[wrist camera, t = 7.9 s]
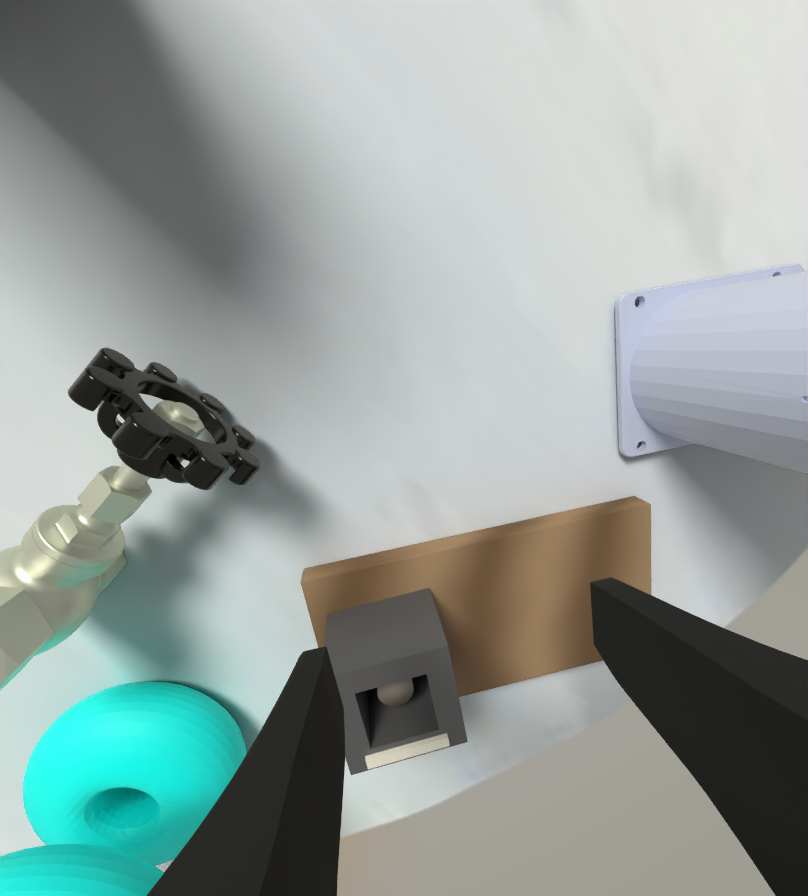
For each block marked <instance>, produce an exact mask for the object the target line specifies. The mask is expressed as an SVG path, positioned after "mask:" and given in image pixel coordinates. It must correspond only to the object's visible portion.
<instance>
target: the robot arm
mask: <svg viewBox="0 0 808 896" xmlns="http://www.w3.org/2000/svg"><path fill="white" fill-rule="evenodd" d="M772 275H773V277H772ZM636 298H638V299H639V305H638V307H636V306H635V299H636ZM615 325H616V362H617V398H618V434H619V451H620V453H621V454H622V455H624V456H627V457H635V456H640V455H644V454H649V453H654V452H658V451H663V450H668V449H673V448H677V447H682V446H687V445H692V444H699V445H703V446H707V447H710V448H714V449H718V450H721V451H725V452H729V453H732V454H736V455H739V456H743V457H747V458H750V459H754V460H758V461H761V462H765V463H769V464H772V465H776V466H779V467H783V468H787V469H790V470H794V471H798V472H801V473H805V474H808V271H804V270H803V267H802V266H801V265H800V264H796V263H795V264H789V265H783V266H778V267H772V268H766V269H760V270H755V271H749V272H743V273H738V274H732V275H726V276H720V277H715V278H709V279H703V280H698V281H692V282H686V283H680V284H675V285H669V286H663V287H658V288H652V289H646V290H640V291H635V292H629V293H624V294H622V295H620V296H619V297H618V298H617V300H616V303H615ZM639 442H641V446H640V447H639V448H638V449H637V444H638V443H639ZM590 591H591V607H592V623H593V640H594V646H595V647H596V649H597V650H598V652H599V654H600V655H601V657H602V659H603V660H604V662H605V663H606V665H607V667H608V668H609V670H610V671H611V673H612V674H613V676H614V677H615V679H616V680H617V682H618V683H619V684H620V686H621V687H622V688H623V689H624V691H625V692H626V693H627V694H628V696H629V697H630V698H631V699H632V701H633V702H634V703H635V705H636V706H637V707H638V708H639V709H640V711H641V712H642V713H643V714H644V716H645V717H646V718H647V719H648V721H649V722H650V723H651V724H652V726H653V727H654V728H655V729H656V730H657V732H658V733H659V734H660V735H661V737H662V738H663V739H664V740H665V742H666V743H667V744H668V745H669V747H670V748H671V749H672V750H673V752H674V753H675V754H676V755H677V756H678V758H679V759H680V760H681V761H682V763H683V764H684V765H685V766H686V768H687V769H688V770H689V771H690V773H691V774H692V775H693V776H694V778H695V779H696V781H697V782H698V783H699V785H700V786H701V787H702V788H703V790H704V791H705V792H706V794H707V795H708V797H709V798H710V799H711V801H712V802H713V804H714V805H715V806H716V808H717V810H718V811H719V812H720V814H721V815H722V817H723V818H724V820H725V821H726V822H727V824H728V825H729V827H730V828H731V830H732V831H733V833H734V834H735V836H736V837H737V838H738V840H739V841H740V843H741V844H742V846H743V847H744V849H745V850H746V852H747V853H748V855H749V856H750V858H751V859H752V861H753V862H754V864H755V865H756V867H757V868H758V870H759V871H760V873H761V874H762V876H763V877H764V879H765V880H766V882H767V883H768V885H769V886H770V888H771V889H772V891H773V892H774V894H775V895H776V896H808V660H805V659H802V658H799V657H797V656H794V655H791V654H788V653H785V652H782V651H779V650H777V649H774V648H772V647H769V646H766V645H763V644H761V643H758V642H756V641H753V640H751V639H749V638H746V637H744V636H741V635H739V634H736V633H734V632H731V631H729V630H727V629H724V628H722V627H720V626H717V625H715V624H713V623H710V622H708V621H706V620H703V619H701V618H699V617H697V616H695V615H692V614H690V613H688V612H686V611H684V610H681V609H679V608H677V607H675V606H673V605H671V604H668V603H666V602H664V601H662V600H660V599H658V598H656V597H654V596H652V595H649V594H647V593H645V592H643V591H641V590H639V589H637V588H634V587H632V586H630V585H628V584H626V583H624V582H621V581H619V580H617V579H614V578H612V577H610V578H606V579H602V580H598V581H593V582H590ZM344 767H345V727H344V707H343V704H342V700H341V696H340V693H339V689H338V686H337V682H336V679H335V675H334V671H333V668H332V664H331V661H330V657H329V653H328V650H327V646H325V647H321V648H317V649H313V650H308V651H304V652H303V653H302V654H301V655H300V657H299V659H298V661H297V663H296V665H295V667H294V669H293V671H292V673H291V675H290V677H289V679H288V681H287V683H286V685H285V687H284V689H283V691H282V693H281V694H280V696H279V698H278V700H277V702H276V704H275V706H274V707H273V709H272V711H271V713H270V715H269V717H268V718H267V720H266V722H265V724H264V726H263V727H262V729H261V731H260V733H259V734H258V736H257V738H256V740H255V741H254V743H253V744H252V746H251V748H250V749H249V751H248V753H247V754H246V756H245V758H244V759H243V761H242V763H241V764H240V766H239V767H238V769H237V771H236V772H235V774H234V776H233V777H232V779H231V780H230V782H229V783H228V785H227V786H226V788H225V789H224V791H223V792H222V794H221V795H220V797H219V798H218V800H217V801H216V803H215V804H214V806H213V807H212V809H211V810H210V812H209V813H208V814H207V816H206V817H205V819H204V820H203V822H202V823H201V824H200V826H199V827H198V829H197V830H196V831H195V833H194V834H193V836H192V837H191V838H190V840H189V841H188V842H187V844H186V845H185V846H184V848H183V849H182V850H181V852H180V853H179V854H178V856H177V857H176V858H175V860H174V861H173V862H172V863H171V865H170V866H169V867H168V869H167V870H166V871H165V872H164V874H163V875H162V876H161V878H160V879H159V880H158V881H157V883H156V884H155V885H154V887H153V888H152V889H151V890H150V892H149V893H148V894H147V896H337V873H338V858H339V843H340V828H341V813H342V798H343V783H344Z"/></svg>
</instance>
